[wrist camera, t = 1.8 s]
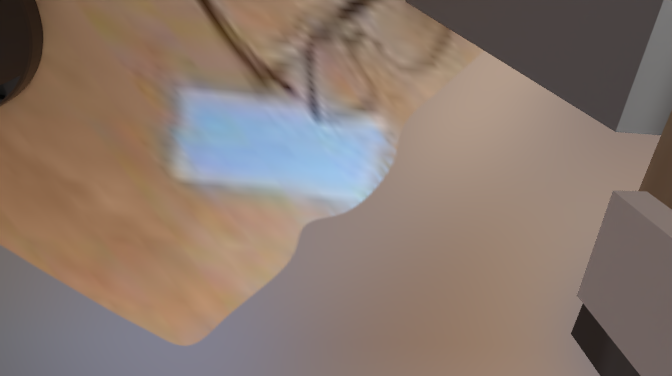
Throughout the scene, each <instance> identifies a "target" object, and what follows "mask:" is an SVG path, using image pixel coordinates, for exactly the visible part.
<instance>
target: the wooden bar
mask: <svg viewBox="0 0 672 376" xmlns="http://www.w3.org/2000/svg"><path fill="white" fill-rule="evenodd" d="M639 191H647V192H648V193H650V194H651V195H652V196H654V197H655V198H657V199H658V200H659V201H661V202H662V203H663V204H665V205H666V206H667V207H669V208H670V209H672V110H671V113H670V115H669V118H668V120H667V122H666V125H665V127H664V130H663V132H662V135H661V137H660V140H659V142H658V145H657V147H656V150H655V152H654V154H653V157H652V159H651V162H650V165H649V167H648V169H647V171H646V174H645V177H644V179H643V181H642V184H641V186H640V189H639ZM571 334H572V336H573V337H574V339H575V340H576V341H577V343H578V344H579V346H580V347H581V349H582V350H583V351H584V353H585V354H586V356H587V357H588V359H589V360H590V361H591V363H592V364H593V366H594V367H595V369H596V370H597V371H598V373H599V374H600V376H640V375H639V373H638V372H637V371H636V369H635V368H634V367H633V366H632V364H631V363H630V362H629V361H628V359H627V358H626V357H625V356H624V354H623V353H622V352H621V350H620V349H619V348H618V347H617V345H616V344H615V343H614V342H613V340H612V339H611V338H610V337H609V335H608V334H607V333H606V332H605V330H604V329H603V328H602V326H601V325H600V324H599V323H598V321H597V320H596V319H595V318H594V316H593V315H592V314H591V313H590V311H589V310H588V309H587V308H586V306H585V305H584V304H583V305H582V308H581V310H580V312H579V315H578V317H577V320H576V322H575V325H574V327H573V330H572V332H571Z"/></svg>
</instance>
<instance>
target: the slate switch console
mask: <svg viewBox="0 0 672 376" xmlns="http://www.w3.org/2000/svg"><path fill="white" fill-rule="evenodd" d="M406 2H407V3H409V4H410V5H412V6H413V7H415V8H417V9H418V10H420V11H422V12H423V13H425V14H426V15H428V16H430V17H431V18H433V19H434V20H436V21H438V22H439V23H441V24H443V25H444V26H446V27H447V28H449V29H451V30H452V31H454V32H455V33H457V34H459V35H460V36H462V37H463V38H465V39H467V40H468V41H470V42H472V43H473V44H475V45H476V46H478V47H480V48H481V49H483V50H484V51H486V52H488V53H489V54H491V55H492V56H494V57H496V58H497V59H499V60H501V61H502V62H504V63H505V64H507V65H509V66H510V67H512V68H513V69H515V70H517V71H518V72H520V73H521V74H523V75H525V76H526V77H528V78H530V79H531V80H533V81H534V82H536V83H538V84H539V85H541V86H542V87H544V88H546V89H547V90H549V91H551V92H552V93H554V94H556V95H557V96H559V97H560V98H562V99H563V100H565V101H567V102H568V103H570V104H572V105H573V106H575V107H576V108H578V109H580V110H581V111H583V112H585V113H586V114H588V115H589V116H591V117H592V118H594V119H596V120H597V121H599V122H601V123H602V124H604V125H605V126H607V127H609V128H610V129H612V130H614V131H615V132H625V133H638V134H652V135H662V132H663V130H664V127H665V125H666V122H667V120H668V118H669V115H670V113H671V110H672V0H406Z"/></svg>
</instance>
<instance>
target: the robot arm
mask: <svg viewBox="0 0 672 376" xmlns="http://www.w3.org/2000/svg"><path fill="white" fill-rule="evenodd" d="M41 52H42V26H41V20H40V16H39V12H38V9H37V6H36V3H35V0H0V106H2V105H3V104H5V103H7V102H8V101H10V100H11V99H13V98H14V97H16V96H17V95H18V94H19V93H20V92H21V91H23V90H24V89H25V87H26V86H27V85H28V84H29V82H30V81H31V79H32V78H33V76H34V74H35V72H36V70H37V67H38V65H39V61H40V57H41ZM577 296H578V297H579V299H580V300H581V301H582V302H583V304H584V305H585V306H586V308H587V309H588V310H589V311H590V313H591V314H592V315H593V316H594V318H595V319H596V320H597V321H598V323H599V324H600V325H601V326H602V328H603V329H604V330H605V332H606V333H607V334H608V335H609V337H610V338H611V339H612V340H613V342H614V343H615V344H616V345H617V347H618V348H619V349H620V350H621V352H622V353H623V354H624V356H625V357H626V358H627V359H628V361H629V362H630V363H631V364H632V366H633V367H634V368H635V369H636V371H637V372H638V373H639V375H640V376H672V209H670V208H669V207H667V206H666V205H665V204H663V203H662V202H661V201H659V200H658V199H657V198H655V197H654V196H652V195H651V194H650V193H648V192H647V191H613V192H612V196H611V198H610V201H609V204H608V207H607V210H606V213H605V216H604V219H603V221H602V225H601V227H600V230H599V233H598V236H597V239H596V242H595V245H594V248H593V251H592V254H591V257H590V260H589V262H588V265H587V268H586V271H585V274H584V277H583V280H582V283H581V286H580V289H579V291H578V295H577Z"/></svg>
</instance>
